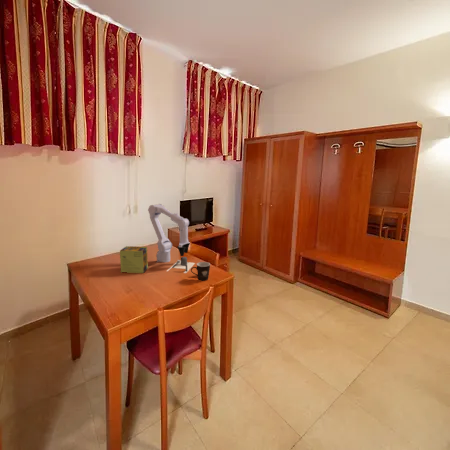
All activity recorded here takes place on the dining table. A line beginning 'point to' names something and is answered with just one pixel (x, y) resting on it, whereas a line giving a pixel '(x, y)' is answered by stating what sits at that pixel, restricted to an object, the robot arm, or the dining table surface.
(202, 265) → the coffee mug
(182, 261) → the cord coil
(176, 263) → the cord run
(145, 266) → the protein box
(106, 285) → the dining table surface
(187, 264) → the shelf board
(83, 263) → the dining table surface
